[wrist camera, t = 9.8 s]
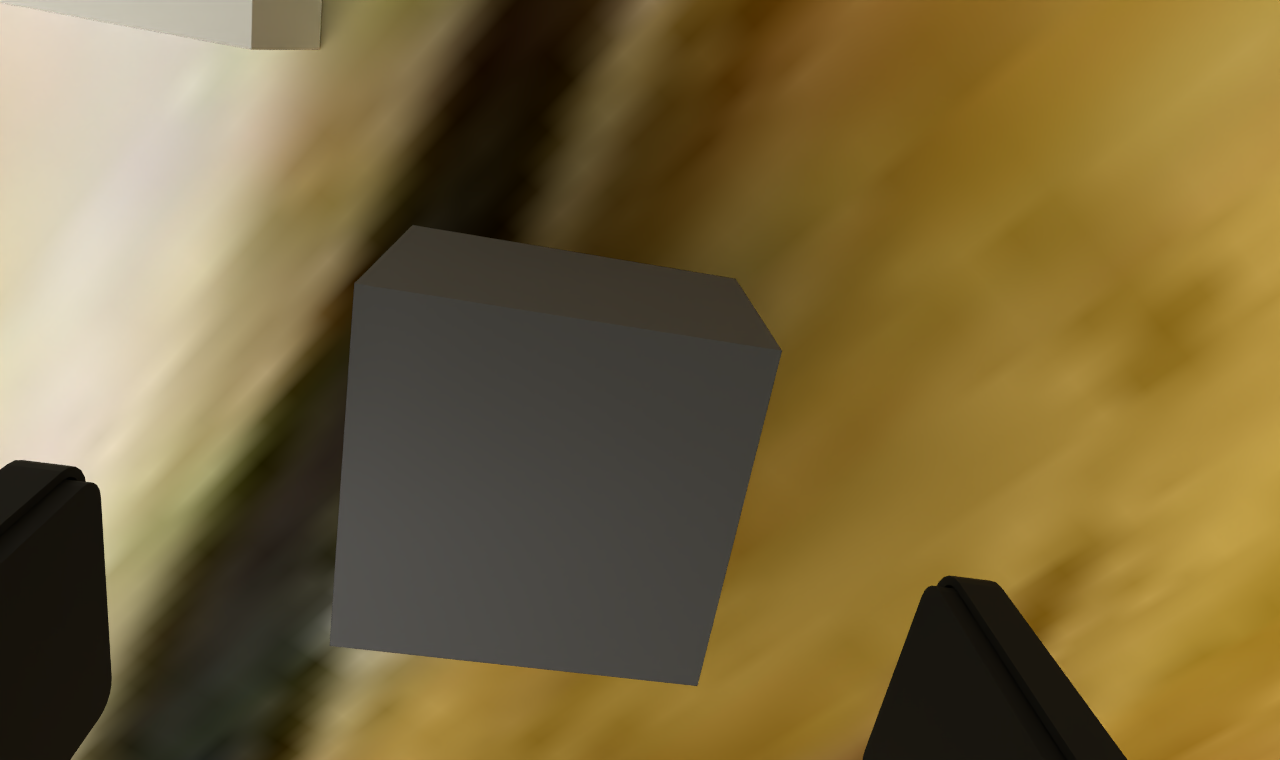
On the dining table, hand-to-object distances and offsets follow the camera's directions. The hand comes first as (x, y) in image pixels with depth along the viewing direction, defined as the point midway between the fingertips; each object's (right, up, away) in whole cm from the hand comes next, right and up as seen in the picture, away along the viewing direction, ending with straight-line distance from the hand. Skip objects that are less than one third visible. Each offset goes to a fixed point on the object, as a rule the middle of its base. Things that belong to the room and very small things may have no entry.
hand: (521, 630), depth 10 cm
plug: (-1, +3, +11) cm, 12 cm away
